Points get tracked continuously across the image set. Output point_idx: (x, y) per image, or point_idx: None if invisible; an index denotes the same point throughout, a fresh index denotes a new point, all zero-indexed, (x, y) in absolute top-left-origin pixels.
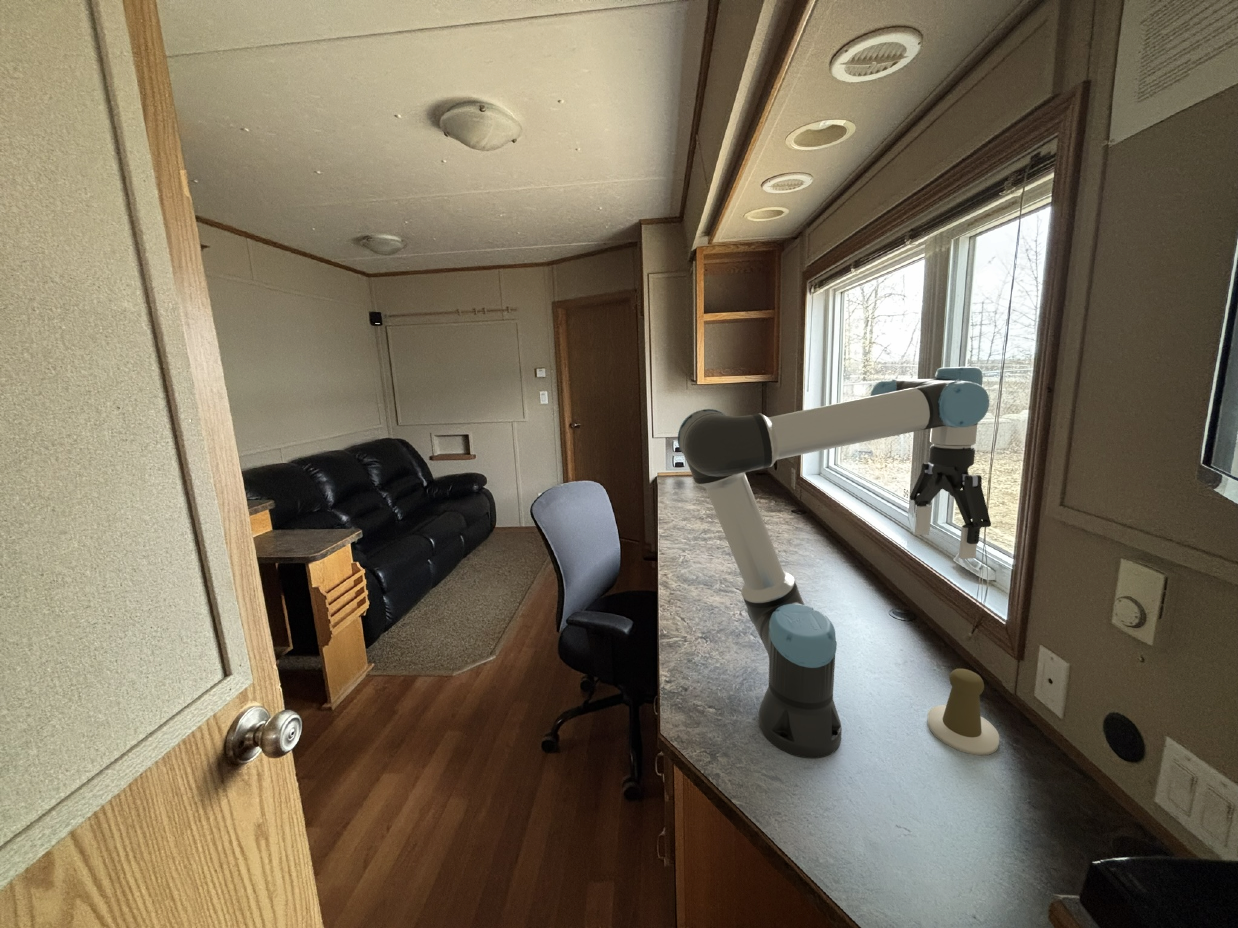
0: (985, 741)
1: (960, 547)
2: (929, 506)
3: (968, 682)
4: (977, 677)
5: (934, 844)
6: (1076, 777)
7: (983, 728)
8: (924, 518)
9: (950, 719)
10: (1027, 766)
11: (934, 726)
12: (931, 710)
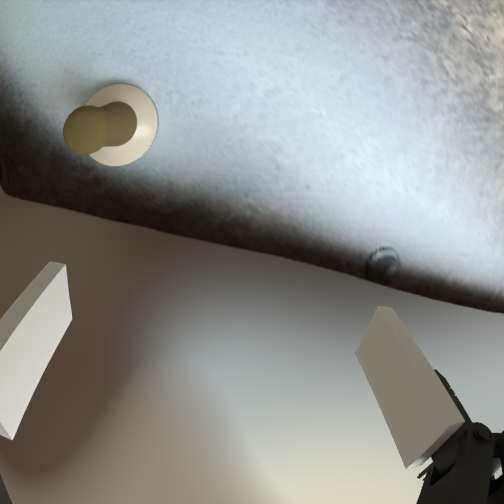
0: None
1: (36, 292)
2: (413, 463)
3: (67, 119)
4: (71, 142)
5: (25, 6)
6: (49, 197)
7: (105, 148)
8: (398, 393)
9: (109, 103)
10: (64, 159)
11: (121, 85)
12: (149, 104)
